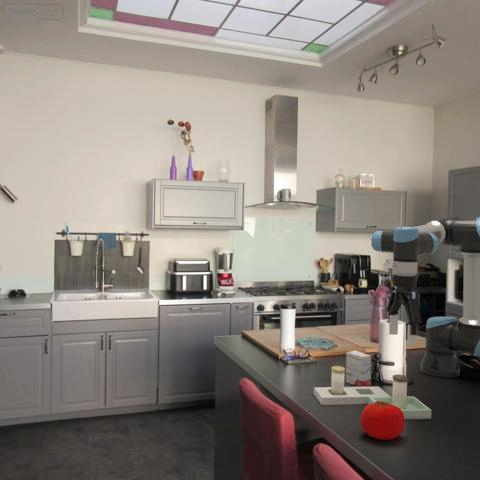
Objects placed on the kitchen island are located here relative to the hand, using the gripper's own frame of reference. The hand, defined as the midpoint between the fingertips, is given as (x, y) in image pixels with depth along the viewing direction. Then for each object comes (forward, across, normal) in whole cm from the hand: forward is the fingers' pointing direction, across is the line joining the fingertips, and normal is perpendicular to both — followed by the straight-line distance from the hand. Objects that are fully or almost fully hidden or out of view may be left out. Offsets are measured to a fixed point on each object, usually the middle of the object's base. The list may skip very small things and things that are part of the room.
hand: (402, 339), depth 161 cm
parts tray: (+24, 0, 0) cm, 24 cm away
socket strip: (+24, -12, -12) cm, 29 cm away
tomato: (+24, +18, -14) cm, 33 cm away
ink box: (+24, -27, -4) cm, 36 cm away
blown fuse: (+23, 0, 0) cm, 23 cm away
